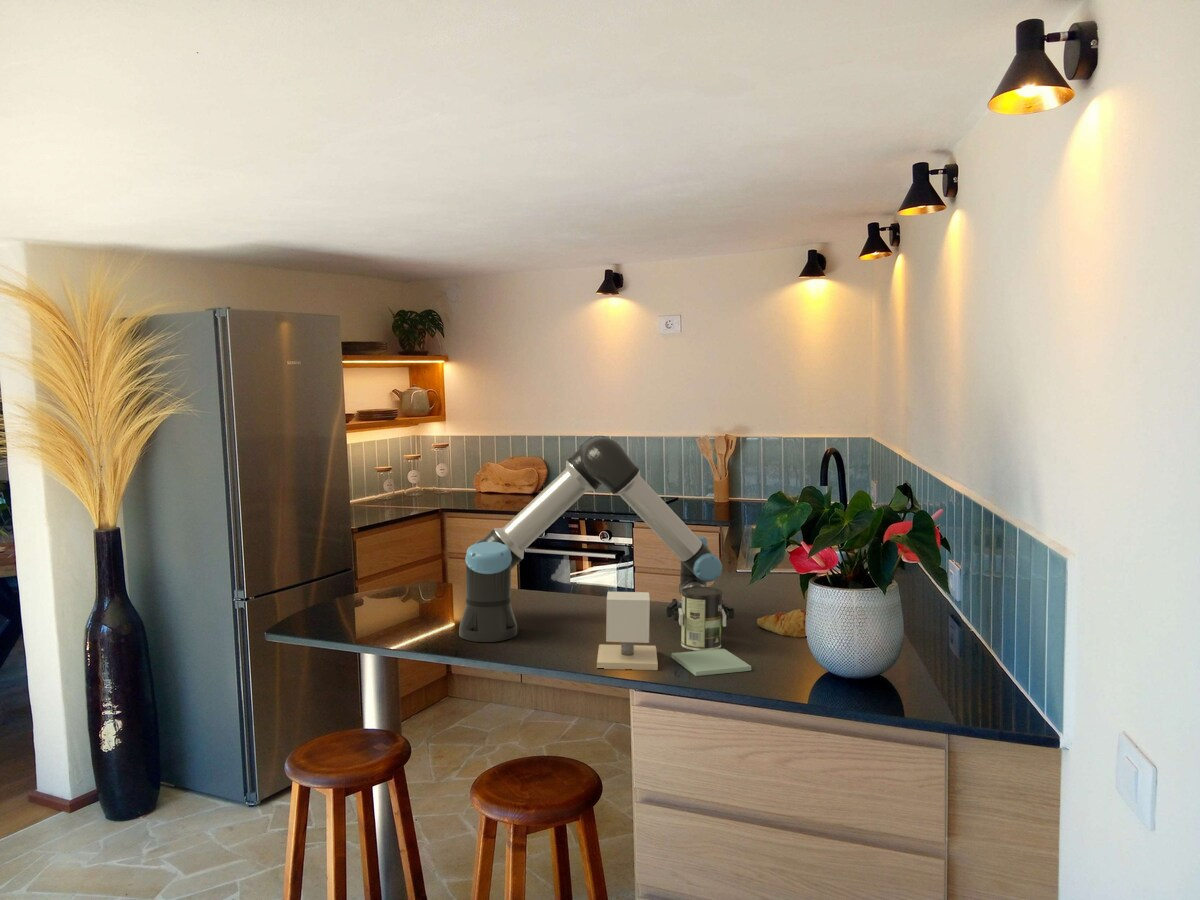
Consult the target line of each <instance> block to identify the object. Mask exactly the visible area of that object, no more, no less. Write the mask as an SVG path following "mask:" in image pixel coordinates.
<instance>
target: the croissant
mask: <svg viewBox="0 0 1200 900" xmlns="http://www.w3.org/2000/svg"><path fill="white" fill-rule="evenodd" d="M806 613H807V611H805V610H803V609H800V608H798V609H793V610H791V611H790V612H781V611H780V612H776V613H775V614H767V615H765V616H763V617H758V618H757V619H756V623H757V625H758V626H760V627H761V628H762V629H764V630H766V631H768V632H772V633H774V634H777V635H781V636H784V637H785V636H787V637H792V636H793V638H806V637H805V615H806Z"/></svg>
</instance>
